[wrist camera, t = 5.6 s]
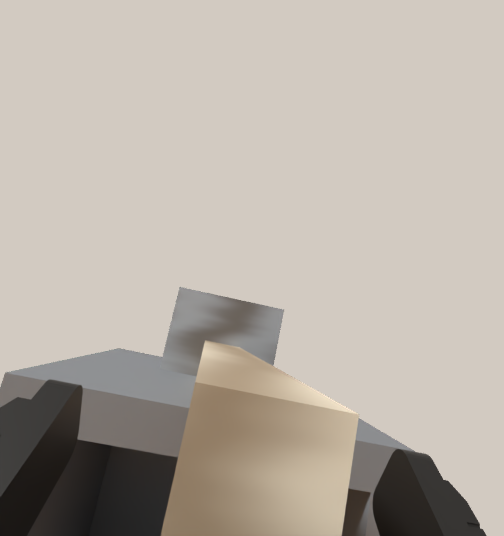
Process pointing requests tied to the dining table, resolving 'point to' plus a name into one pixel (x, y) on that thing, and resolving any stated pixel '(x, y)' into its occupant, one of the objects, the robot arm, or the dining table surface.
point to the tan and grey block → (251, 430)
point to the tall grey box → (149, 448)
